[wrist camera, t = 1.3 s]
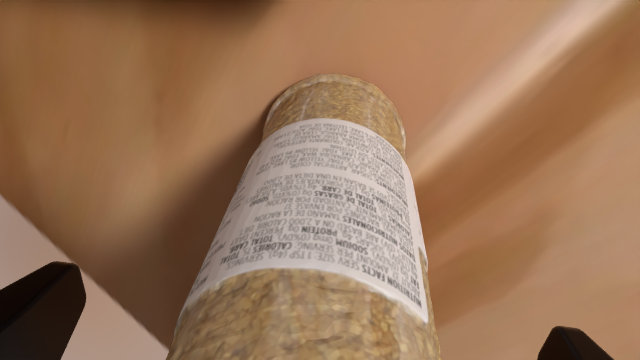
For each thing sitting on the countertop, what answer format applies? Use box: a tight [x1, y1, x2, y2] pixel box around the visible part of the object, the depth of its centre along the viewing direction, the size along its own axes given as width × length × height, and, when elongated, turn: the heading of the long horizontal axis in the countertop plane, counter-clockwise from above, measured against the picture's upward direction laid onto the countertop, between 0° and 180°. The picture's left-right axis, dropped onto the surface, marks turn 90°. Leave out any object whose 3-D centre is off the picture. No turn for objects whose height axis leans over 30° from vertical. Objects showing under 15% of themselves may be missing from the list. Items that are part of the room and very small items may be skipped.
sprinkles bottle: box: [166, 73, 441, 360], centre depth 9 cm, size 5×5×13 cm
